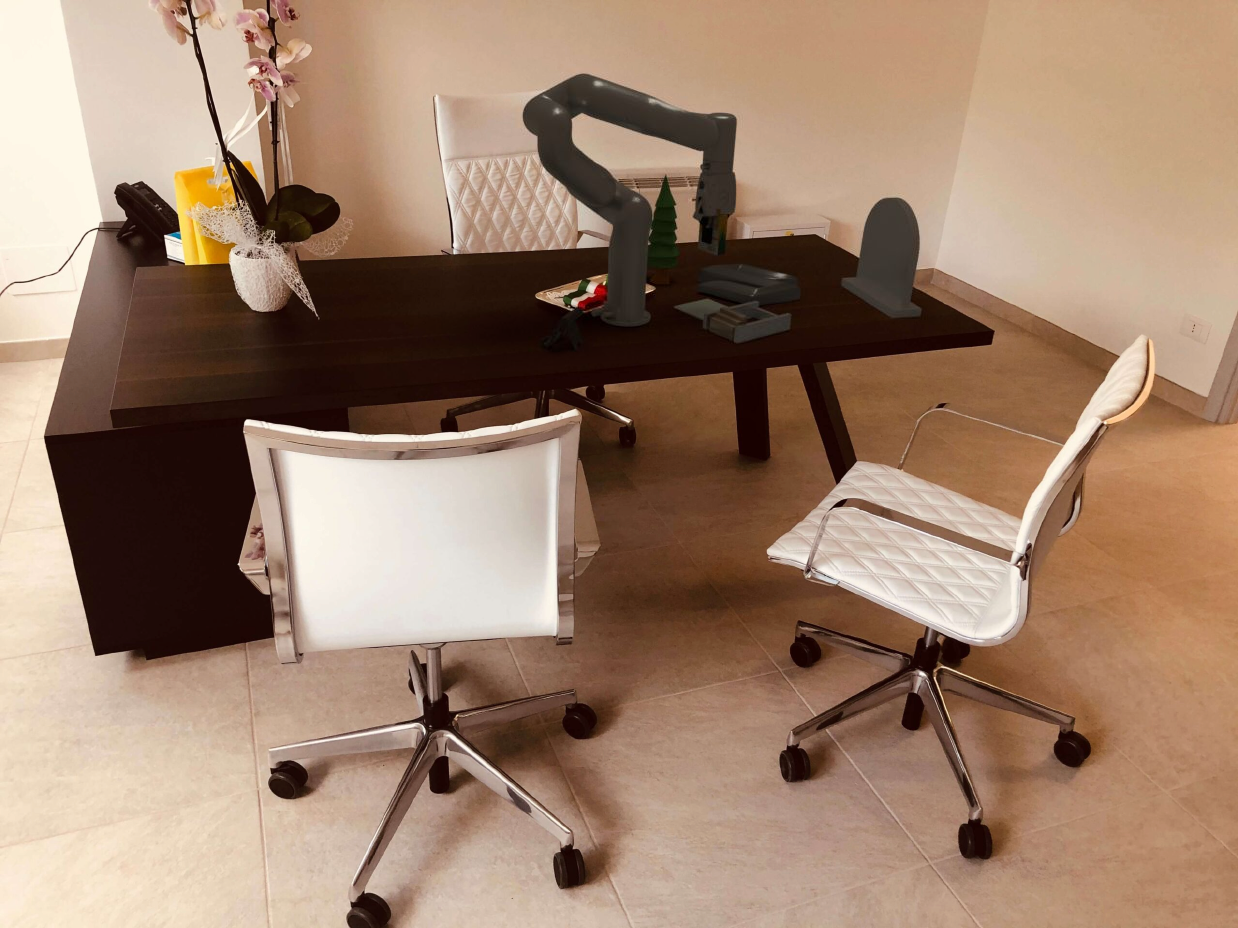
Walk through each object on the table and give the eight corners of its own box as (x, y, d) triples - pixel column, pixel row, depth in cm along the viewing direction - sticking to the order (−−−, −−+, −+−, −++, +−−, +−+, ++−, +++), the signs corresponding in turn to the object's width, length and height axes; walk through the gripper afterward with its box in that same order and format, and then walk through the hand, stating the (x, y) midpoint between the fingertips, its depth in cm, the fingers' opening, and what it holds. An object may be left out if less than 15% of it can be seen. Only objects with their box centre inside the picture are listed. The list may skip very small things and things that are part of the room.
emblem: (696, 285, 254) (700, 256, 279) (695, 305, 257) (698, 274, 282) (803, 292, 252) (797, 262, 277) (801, 312, 255) (795, 280, 279)
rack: (737, 343, 231) (738, 328, 230) (702, 328, 240) (703, 313, 238) (789, 329, 241) (791, 314, 239) (754, 315, 250) (755, 300, 248)
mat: (704, 321, 245) (704, 319, 245) (673, 307, 253) (673, 306, 253) (738, 312, 251) (738, 311, 251) (707, 300, 260) (707, 298, 260)
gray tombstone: (921, 316, 254) (942, 211, 241) (892, 318, 252) (911, 212, 239) (868, 284, 278) (884, 186, 265) (840, 286, 275) (855, 187, 262)
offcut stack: (731, 341, 233) (733, 319, 231) (709, 331, 239) (711, 310, 236) (745, 337, 236) (747, 316, 233) (722, 328, 241) (724, 307, 239)
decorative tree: (648, 286, 268) (654, 176, 254) (638, 276, 276) (643, 169, 262) (681, 285, 271) (688, 175, 257) (671, 275, 279) (677, 168, 265)
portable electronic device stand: (557, 336, 232) (557, 302, 228) (587, 341, 230) (588, 307, 226) (541, 348, 225) (541, 314, 221) (572, 353, 222) (572, 319, 218)
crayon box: (725, 254, 243) (729, 207, 238) (717, 256, 242) (720, 209, 236) (705, 247, 248) (708, 202, 243) (697, 249, 247) (700, 203, 241)
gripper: (702, 173, 228) (697, 250, 237) (752, 166, 237) (745, 240, 246) (682, 167, 233) (677, 242, 242) (731, 161, 242) (725, 234, 251)
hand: (711, 241), depth 244 cm, fingers closed on crayon box, 3 cm apart
